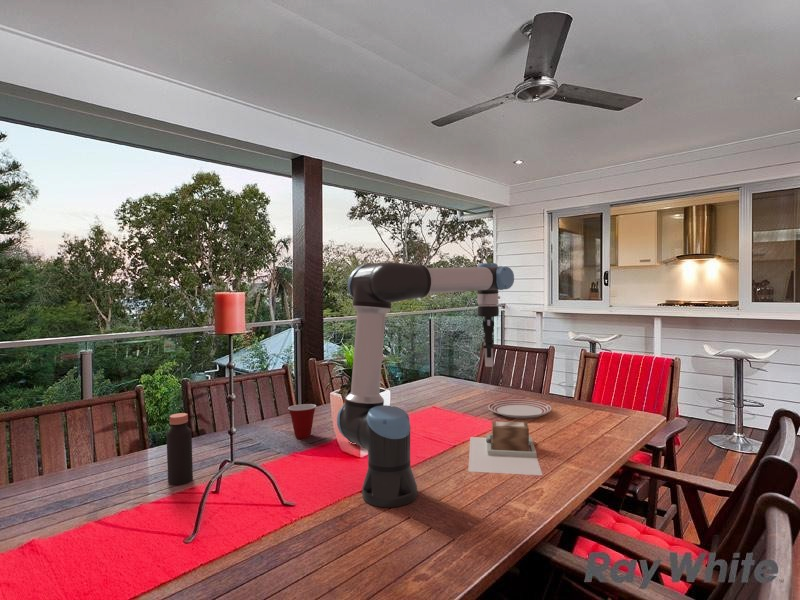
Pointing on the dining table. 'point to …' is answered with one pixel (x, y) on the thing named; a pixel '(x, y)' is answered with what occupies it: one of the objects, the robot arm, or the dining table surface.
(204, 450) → the dining table surface
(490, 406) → the dinner plate
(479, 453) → the grey board with frame
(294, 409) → the plastic cup
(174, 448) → the bottle
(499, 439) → the wooden block
